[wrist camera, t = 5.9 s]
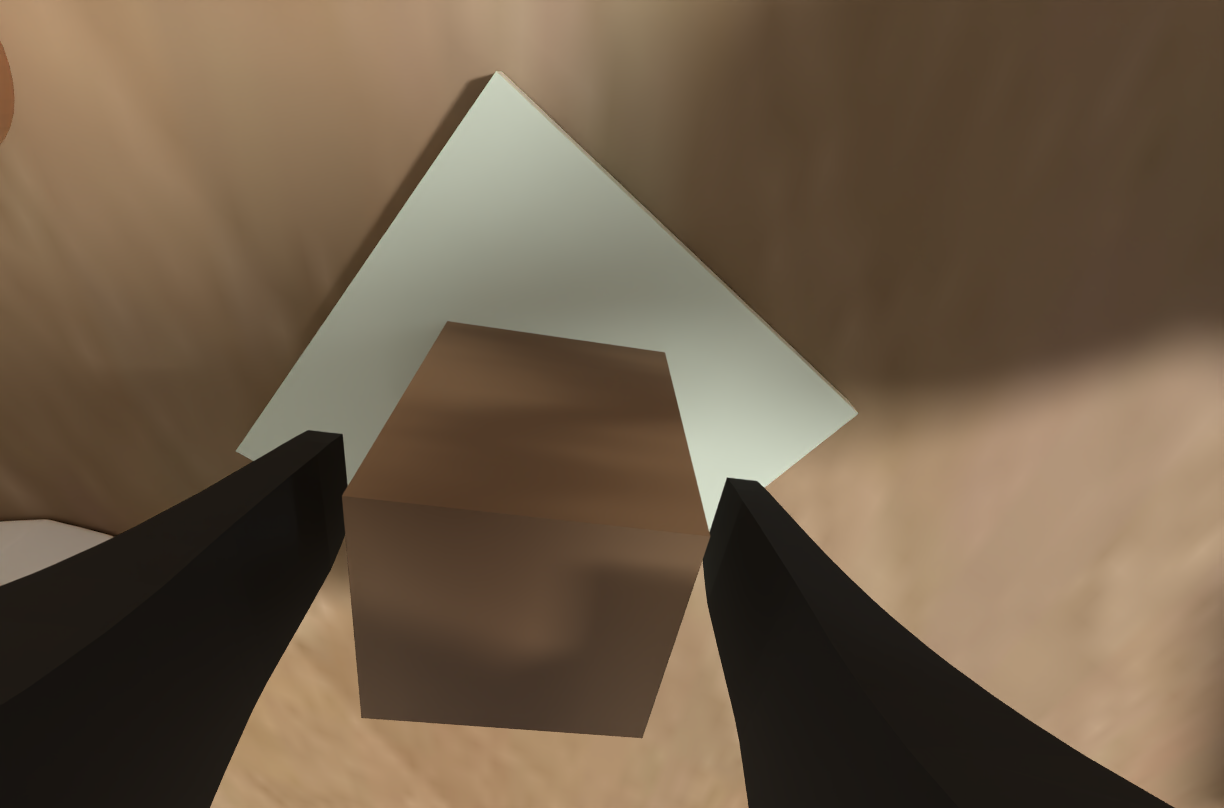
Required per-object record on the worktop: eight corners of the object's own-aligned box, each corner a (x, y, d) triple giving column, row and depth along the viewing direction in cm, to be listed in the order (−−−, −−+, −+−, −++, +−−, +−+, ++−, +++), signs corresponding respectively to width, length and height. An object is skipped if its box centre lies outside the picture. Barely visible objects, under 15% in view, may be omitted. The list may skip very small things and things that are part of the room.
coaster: (848, 400, 13) (858, 413, 13) (574, 620, 17) (573, 637, 16) (501, 71, 10) (496, 71, 9) (249, 436, 13) (235, 451, 13)
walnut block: (664, 352, 12) (710, 536, 7) (626, 514, 14) (642, 737, 9) (447, 320, 11) (342, 495, 7) (443, 494, 14) (361, 718, 9)
